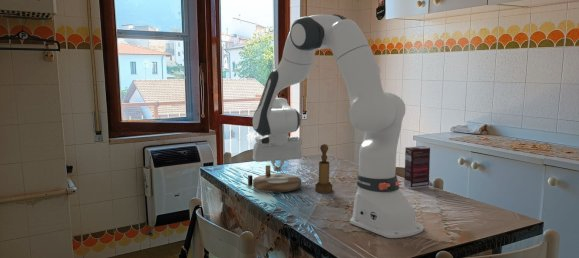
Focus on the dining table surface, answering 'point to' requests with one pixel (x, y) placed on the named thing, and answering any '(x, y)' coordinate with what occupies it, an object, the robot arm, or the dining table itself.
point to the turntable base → (250, 180)
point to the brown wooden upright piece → (323, 173)
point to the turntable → (276, 182)
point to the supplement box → (417, 167)
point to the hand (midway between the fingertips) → (277, 170)
